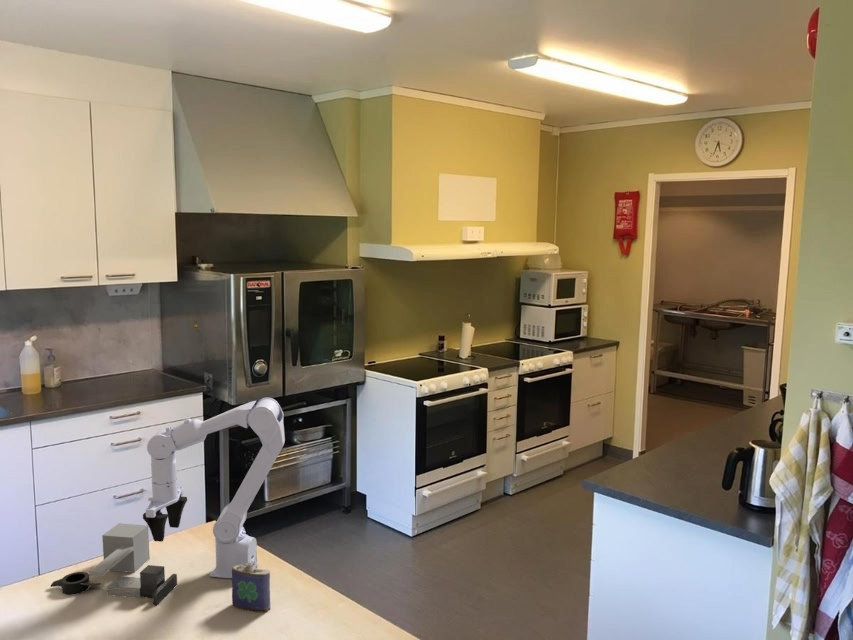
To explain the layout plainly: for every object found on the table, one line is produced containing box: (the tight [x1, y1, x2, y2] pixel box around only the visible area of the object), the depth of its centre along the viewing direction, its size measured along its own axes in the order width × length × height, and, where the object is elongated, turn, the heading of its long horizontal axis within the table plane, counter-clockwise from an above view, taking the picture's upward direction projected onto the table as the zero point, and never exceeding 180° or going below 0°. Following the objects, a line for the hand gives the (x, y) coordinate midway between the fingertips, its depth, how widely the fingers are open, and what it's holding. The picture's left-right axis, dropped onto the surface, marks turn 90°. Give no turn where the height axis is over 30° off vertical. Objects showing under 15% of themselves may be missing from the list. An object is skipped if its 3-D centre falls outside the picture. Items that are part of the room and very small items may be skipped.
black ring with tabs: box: [50, 571, 101, 596], centre depth 161 cm, size 8×10×3 cm
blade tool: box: [106, 564, 178, 607], centre depth 159 cm, size 14×9×6 cm, turn 82°
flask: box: [231, 561, 271, 613], centre depth 153 cm, size 9×3×11 cm, turn 74°
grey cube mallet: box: [88, 523, 151, 577], centre depth 165 cm, size 8×20×9 cm, turn 172°
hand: (166, 533), depth 167 cm, fingers open, 7 cm apart
